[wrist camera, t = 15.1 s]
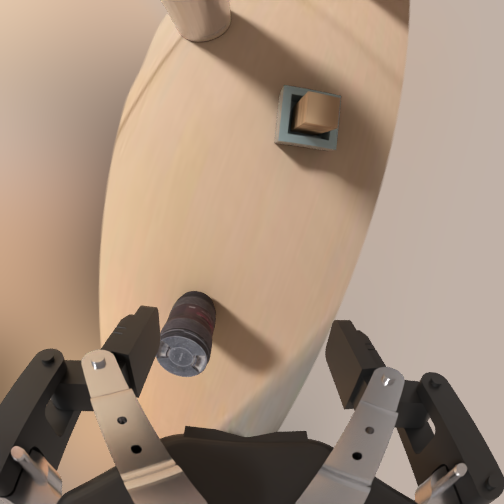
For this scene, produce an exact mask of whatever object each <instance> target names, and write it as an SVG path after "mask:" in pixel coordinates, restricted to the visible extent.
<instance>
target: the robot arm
mask: <svg viewBox="0 0 504 504" xmlns="http://www.w3.org/2000/svg"><path fill="white" fill-rule="evenodd" d="M161 2H162V3H163V5H164V7H165V8H166V10H167V12H168V14H169V15H170V17H171V19H172V21H173V23H174V24H175V26H176V28H177V30H178V31H179V33H180V34H181V35H182V36H183V37H184V38H185V39H188V40H190V41H195V42H203V41H209V40H213V39H215V38H217V37H219V36H220V35H222V34H223V33H224V32H225V31H226V30H227V29H228V27H229V25H230V23H231V13H230V3H229V0H161ZM159 346H160V326H159V314H158V309H157V307H149V306H140V307H139V309H138V310H137V312H136V313H135V315H128V316H126V317H125V318H123V319H122V320H121V321H120V322H119V324H118V325H117V327H116V328H115V329H114V331H113V333H112V334H111V335H110V337H109V338H108V339H107V341H106V342H105V344H104V345H103V347H102V348H101V350H94V351H91V352H89V353H87V354H86V355H85V356H84V357H83V358H82V360H81V361H73V360H69V361H67V360H64V357H63V355H62V353H61V352H60V351H58V350H56V349H46V350H43V351H41V352H39V353H38V354H36V356H35V357H34V358H33V359H32V361H31V362H30V363H29V365H28V366H27V367H26V369H25V370H24V371H23V373H22V374H21V375H20V377H19V378H18V379H17V381H16V382H15V384H14V385H13V387H12V388H11V390H10V391H9V392H8V394H7V395H6V397H5V398H4V400H3V401H2V403H1V404H0V500H1V501H3V502H4V503H5V504H489V503H491V502H492V501H494V500H495V499H496V498H497V497H499V496H500V494H501V493H502V492H503V489H504V477H503V474H502V472H501V470H500V468H499V466H498V464H497V462H496V460H495V459H494V457H493V455H492V453H491V451H490V449H489V447H488V446H487V444H486V442H485V440H484V438H483V437H482V435H481V433H480V432H479V430H478V428H477V426H476V425H475V423H474V421H473V420H472V418H471V417H470V415H469V413H468V412H467V410H466V409H465V407H464V405H463V404H462V402H461V401H460V399H459V398H458V396H457V395H456V393H455V392H454V390H453V388H452V387H451V385H450V384H449V383H448V381H447V380H446V379H445V378H444V377H443V376H442V375H440V374H437V373H432V372H429V373H426V374H424V375H423V376H422V378H421V380H420V382H418V381H408V380H404V377H403V375H402V374H401V373H400V372H399V371H397V370H395V369H393V368H390V367H386V366H385V364H384V362H383V361H382V359H381V357H380V356H379V354H378V353H377V351H376V350H375V348H374V346H373V345H372V343H371V341H370V340H369V338H368V337H367V336H366V335H365V334H364V333H362V332H361V331H359V330H358V331H357V330H356V329H355V327H354V325H353V324H352V322H351V321H350V320H335V321H334V322H333V324H332V327H331V331H330V335H329V339H328V342H327V346H326V354H325V355H326V361H327V363H328V366H329V369H330V371H331V374H332V377H333V379H334V382H335V385H336V388H337V390H338V393H339V396H340V399H341V402H342V405H343V407H344V409H353V408H354V410H355V412H354V414H353V415H352V417H351V419H350V421H349V423H348V425H347V426H346V428H345V430H344V432H343V433H342V435H341V437H340V439H339V440H338V442H337V444H336V446H335V447H334V448H333V447H331V446H330V445H327V444H325V443H323V442H320V441H316V440H312V439H308V438H307V432H306V431H295V432H294V431H292V432H274V433H269V434H264V435H259V436H253V437H242V436H238V435H234V434H230V433H227V432H223V431H219V430H216V429H207V428H198V427H190V426H185V432H184V434H177V435H171V436H167V437H164V438H161V439H159V437H158V436H157V434H156V432H155V431H154V429H153V427H152V425H151V424H150V422H149V420H148V418H147V417H146V415H145V413H144V411H143V409H142V408H141V406H140V404H139V402H138V400H137V398H136V397H138V398H139V396H140V393H141V391H142V388H143V386H144V383H145V381H146V378H147V376H148V373H149V371H150V368H151V366H152V364H153V361H154V359H155V356H156V354H157V352H158V349H159ZM49 400H50V401H49ZM81 411H94V413H95V415H96V418H97V421H98V424H99V427H100V429H101V432H102V434H103V437H104V439H105V442H106V444H107V447H108V449H109V451H110V454H111V456H112V458H113V460H114V463H115V465H116V466H115V467H113V468H111V469H109V470H108V471H106V472H104V473H103V474H101V475H99V476H97V477H95V478H94V479H92V480H90V481H88V482H86V483H84V484H82V485H80V486H78V487H76V488H74V489H72V490H71V491H68V492H67V493H65V494H64V495H63V496H62V491H61V489H62V480H61V477H60V475H59V473H58V472H57V469H58V466H59V463H60V461H61V458H62V455H63V453H64V450H65V448H66V445H67V443H68V441H69V438H70V436H71V433H72V431H73V429H74V426H75V424H76V422H77V420H78V417H79V415H80V413H81ZM429 418H431V420H432V422H433V423H434V425H435V430H436V431H435V435H434V434H433V432H432V429H431V427H430V425H429V423H428V422H427V421H428V419H429ZM394 427H396V428H397V430H398V433H399V435H400V438H401V441H402V443H403V446H404V448H405V451H406V454H407V456H408V459H409V462H410V464H411V467H412V470H413V473H414V476H415V478H416V481H417V484H418V488H417V490H416V492H415V500H412V499H410V498H408V497H407V496H405V495H403V494H402V493H400V492H398V491H397V490H395V489H393V488H392V487H390V486H389V485H387V484H385V483H384V482H382V481H381V480H379V479H377V478H376V477H375V474H376V472H377V470H378V468H379V465H380V463H381V461H382V458H383V455H384V453H385V451H386V448H387V446H388V443H389V440H390V438H391V435H392V432H393V429H394Z"/></svg>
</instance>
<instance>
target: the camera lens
mask: <svg viewBox="0 0 504 504" xmlns="http://www.w3.org/2000/svg"><path fill="white" fill-rule="evenodd" d="M215 321H216V312H215V308H214V305H213V302H212V300H211V299H210V298H209V297H208V296H207V295H206V294H204V293H201V292H197V291H191V292H188V293H185V294H184V295H183V296H181V297H180V298H179V299H178V300H177V302H176V303H175V304H174V306H173V308H172V310H171V312H170V315H169V318H168V320H167V322H166V324H165V325H164V327H163V329H162V331H161V333H160V346H159V349H158V352H157V354H156V358H157V360H158V362H159V363H160V365H161V366H162V367H163V368H164V369H165V370H167V371H168V372H170V373H172V374H175V375H178V376H182V377H191V376H195V375H198V374H200V373H201V372H202V371H203V370H204V369H205V367H206V365H207V363H208V362H209V359H210V354H211V348H212V335H213V330H214V327H215Z"/></svg>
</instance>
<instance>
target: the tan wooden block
mask: <svg viewBox="0 0 504 504" xmlns="http://www.w3.org/2000/svg"><path fill="white" fill-rule="evenodd" d="M339 108H340V98H338V97H334V96H329V95H325V94H320V93H315V92H310V91H308V92H307V93H306V94H305V95H304V96H303V97H302V98H301V99H300V100H299V102H298V103H297V104H296V105H295V106H294V107H293V113H292V122H291V131H293V132H299V133H305V134H311V135H318V134H321V133H324V132H328V131H331V130H334V129H337V128H338V119H339Z"/></svg>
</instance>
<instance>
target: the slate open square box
mask: <svg viewBox="0 0 504 504" xmlns="http://www.w3.org/2000/svg"><path fill="white" fill-rule="evenodd" d="M308 91H310V92H315V93H320V94H325V95H329V96H334V97H338V98H340V105H341V96H339V95H335V94H330V93H326V92H321V91H316V90H311V89H305V88H300V87H293V86H287V85H284V86H283V88H282V90H281V92H280V94H279V104H278V113H277V122H276V132H275V141H274V143H278V144H285V145H293V146H299V147H306V148H312V149H318V150H324V151H329V150H336V146H337V137H338V128H337V129H334V130H331V131H328V132H324V133H321V134H318V135H311V134H305V133H299V132H293V131H291V122H292V113H293V107H294V106H295V105H296V104H297V103H298V102H299V100H300V99H301V98H302V97H303V96H304V95H305V94H306V93H307V92H308ZM339 116H340V108H339ZM338 127H339V119H338Z"/></svg>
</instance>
